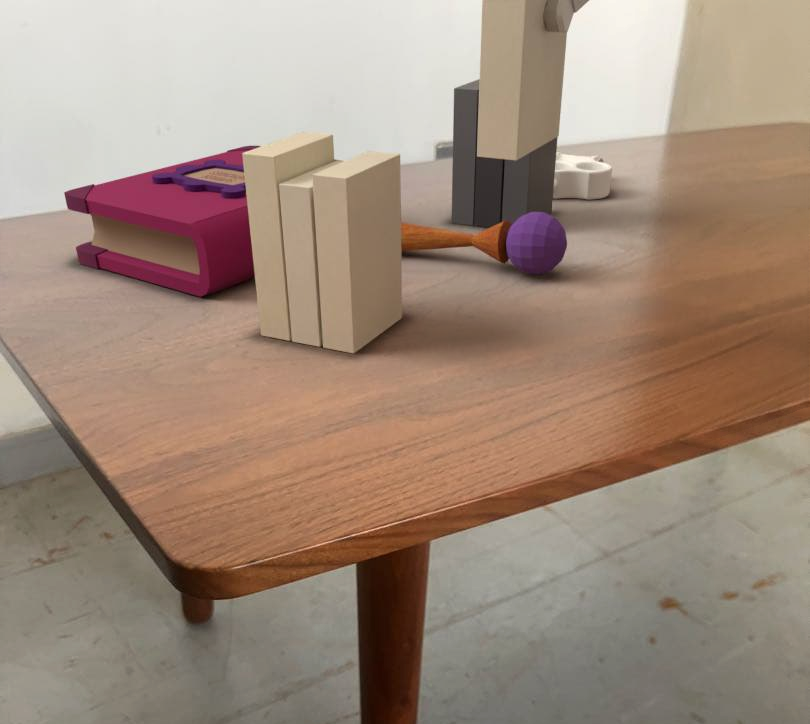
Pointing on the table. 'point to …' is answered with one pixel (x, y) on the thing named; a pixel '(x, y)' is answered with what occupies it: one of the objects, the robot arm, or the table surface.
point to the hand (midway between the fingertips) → (523, 24)
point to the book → (172, 224)
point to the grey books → (495, 173)
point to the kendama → (500, 241)
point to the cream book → (518, 79)
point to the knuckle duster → (581, 177)
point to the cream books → (324, 241)
